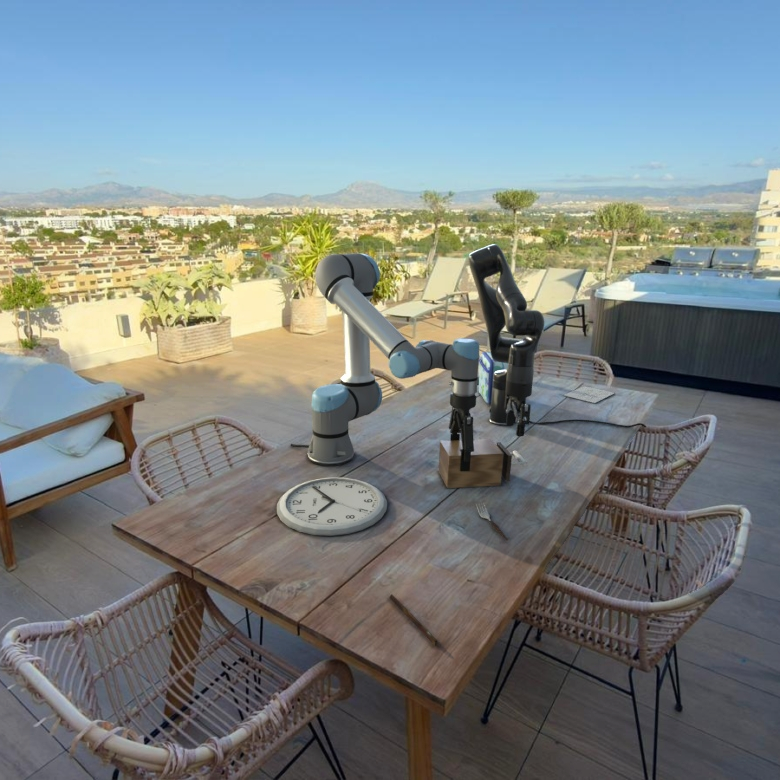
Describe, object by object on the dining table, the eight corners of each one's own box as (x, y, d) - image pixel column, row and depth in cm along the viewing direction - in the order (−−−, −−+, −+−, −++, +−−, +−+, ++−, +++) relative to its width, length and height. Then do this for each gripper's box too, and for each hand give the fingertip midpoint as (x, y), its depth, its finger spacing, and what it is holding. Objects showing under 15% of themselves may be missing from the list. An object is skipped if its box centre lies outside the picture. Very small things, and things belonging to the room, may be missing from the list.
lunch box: (475, 390, 246) (478, 346, 240) (498, 390, 246) (501, 347, 240) (484, 408, 221) (487, 360, 215) (509, 409, 221) (513, 360, 215)
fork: (502, 542, 127) (502, 535, 126) (474, 509, 141) (475, 503, 141) (511, 541, 127) (512, 534, 127) (483, 508, 142) (484, 502, 142)
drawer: (515, 465, 166) (517, 441, 164) (527, 480, 157) (530, 454, 155) (452, 468, 163) (453, 444, 161) (460, 483, 154) (462, 457, 152)
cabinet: (488, 468, 166) (491, 438, 163) (500, 485, 156) (503, 453, 152) (438, 471, 164) (439, 440, 161) (447, 488, 153) (449, 456, 150)
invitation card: (584, 385, 255) (614, 392, 245) (584, 386, 255) (614, 393, 245) (563, 394, 240) (594, 402, 230) (563, 395, 240) (594, 403, 230)
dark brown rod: (389, 598, 107) (389, 594, 107) (391, 597, 107) (391, 593, 107) (435, 645, 95) (435, 641, 95) (437, 644, 96) (437, 640, 95)
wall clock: (392, 527, 129) (268, 531, 127) (391, 533, 130) (269, 537, 127) (383, 473, 158) (282, 475, 155) (383, 478, 158) (282, 480, 156)
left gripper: (441, 381, 162) (438, 446, 168) (462, 406, 139) (457, 480, 146) (464, 381, 163) (460, 445, 169) (489, 405, 140) (483, 479, 147)
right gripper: (499, 372, 159) (494, 422, 163) (516, 386, 145) (511, 440, 150) (522, 372, 160) (517, 421, 164) (541, 385, 146) (536, 439, 151)
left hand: (459, 462), depth 157 cm, fingers closed on cabinet, 11 cm apart
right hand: (514, 430), depth 157 cm, fingers open, 8 cm apart
